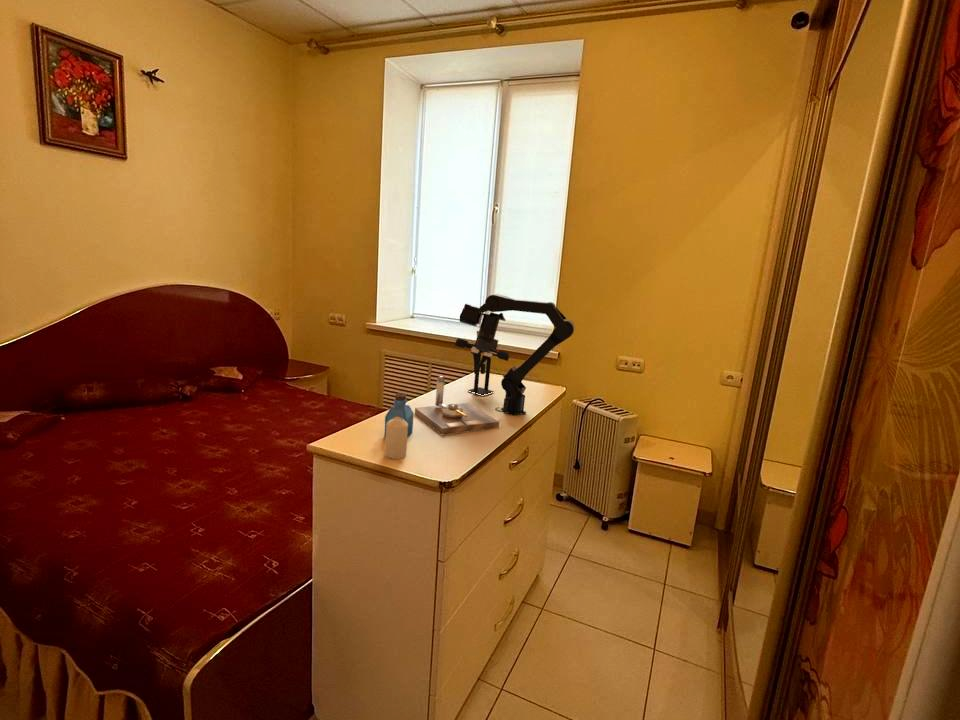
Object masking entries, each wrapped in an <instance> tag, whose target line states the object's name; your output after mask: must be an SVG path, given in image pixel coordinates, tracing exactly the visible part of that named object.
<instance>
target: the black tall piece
mask: <svg viewBox="0 0 960 720" xmlns="http://www.w3.org/2000/svg"><path fill="white" fill-rule="evenodd" d="M478 333H479V330H477V331H476V337H477V336H478ZM473 345H475V343H473ZM497 348H499V345H498V344H497ZM497 348H496V349H497ZM491 350H493V349H491ZM478 354H479V356H478V362H477V367H478V365H479V363H480V360H481V358H482V352H480V351H479V352H478ZM491 363H492V358H491V359H489V358H488V359H487V360H486V363H483V365H482V366H481V368H480V369H479V371H478V372H477V374H474V383H473V388H472V389H467V392H469V391H471V392H475V393H478V394H481V395H484V394H488V393H491V392H492V393H495V390H490V389H489V386H490V374H491ZM480 375H485V376H484V387H479V383H480V382H479V381H480Z"/></svg>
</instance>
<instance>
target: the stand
mask: <svg viewBox="0 0 960 720" xmlns="http://www.w3.org/2000/svg"><path fill="white" fill-rule="evenodd" d="M455 404H456V405H458V407H461V408H462V409H463V413H464V414H466V415H467V417H464V416H462V417H461V418H447V417H444V416H443V415H442V412H443V409H442V408H441V407H439V406H436V405H430V406H421V407H414V414H415V415H416V416H417V417H418V418H420V419H421V420H422V421H424V423H426V424H427V425H429V426H430V427H431V428H432V429H434V430H435V431H437V433H439V434H440V435H442V436H444V435H451V434H459V433H460V432H461V433H468V432H467V431H469V432H475V431H474V430H477V431H483V430H482V429H485V430H491V428H493V429H499V428H500V421H499V420H497V419H495V418H494V417H492V416H490V415H489V414H487V413H486V412H484V411H483V410H481V409H479V408H477V407H476V406H474V405H473V404H471V403H470V402H464V403H455ZM446 405H447V406H448V405H449V404H446ZM461 433H460V434H461Z"/></svg>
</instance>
